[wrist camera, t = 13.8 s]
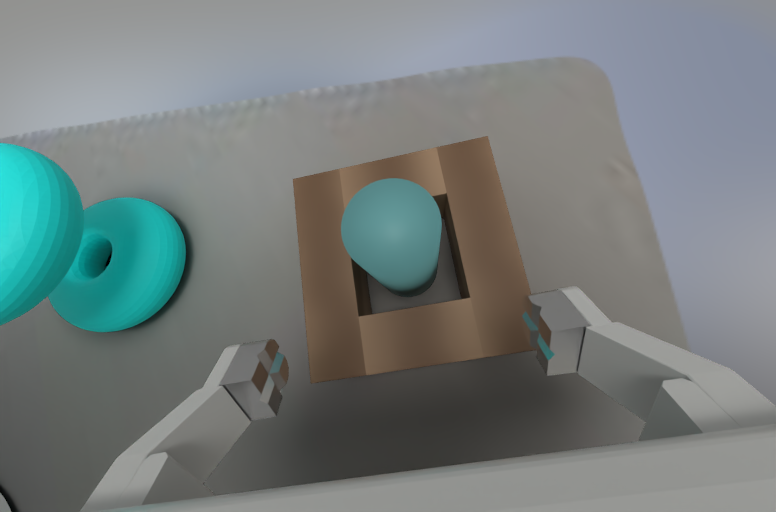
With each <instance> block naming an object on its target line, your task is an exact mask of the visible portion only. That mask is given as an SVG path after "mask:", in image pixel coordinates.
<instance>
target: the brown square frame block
mask: <svg viewBox="0 0 776 512" xmlns="http://www.w3.org/2000/svg"><path fill="white" fill-rule="evenodd" d="M388 178H398V179H405V180H409V181H411V182H414V183H416V184H418V185H420V186H421V187H423V188H424V189H425V190H426V191H427V192H429V193H430V195H431V196H432V197H433V198H434V200H435V202H436V203H437V206H438V208H439V211H440V214H441V218H444V220H445V225H446V230H447V234H448V239H449V243H450V248H451V252H452V257H453V262H454V266H455V271H456V275H457V280H458V285H459V289H460V294H461V298H462V299H460V300H454V301H448V302H442V303H436V304H430V305H424V306H418V307H413V308H407V309H401V310H395V311H389V312H383V313H377V314H372V311H371V304H370V297H369V290H368V282H367V275H366V270H364V269H363V268H362V267H361V266H360V265H358V264H357V263H356V262H355V261H354V260H353V259H352V258H351V257H350V255H349V254H348V252H347V250H346V248H345V246H344V243H343V241H342V235H341V222H342V217H343V214H344V211H345V209H346V207H347V205H348V203H349V202H350V200H351V199H352V198H353V196H354V195H355V194H356V193H357V192H358V191H360V190H361V189H362V188H364V187H365V186H367V185H369V184H370V183H373V182H375V181H379V180H382V179H388ZM293 186H294V197H295V209H296V220H297V232H298V243H299V254H300V266H301V277H302V289H303V300H304V312H305V323H306V334H307V346H308V357H309V369H310V380H311V383H318V382H325V381H331V380H338V379H345V378H351V377H358V376H365V375H371V374H378V373H385V372H392V371H398V370H405V369H412V368H418V367H425V366H432V365H438V364H445V363H452V362H458V361H465V360H472V359H479V358H485V357H492V356H499V355H505V354H512V353H519V352H525V351H532V350H537V349H535V348H533V347H531V346H530V345H529V343H528V341H527V339H526V337H525V334H524V331H523V327H522V315H523V314H524V313H525V312H526V311H525V309H524V307H523V306H522V300H523V297H524V295H529V294H531V292H530V288H529V284H528V281H527V277H526V274H525V270H524V266H523V263H522V259H521V255H520V252H519V248H518V245H517V241H516V237H515V234H514V230H513V226H512V223H511V219H510V216H509V212H508V208H507V205H506V201H505V197H504V194H503V190H502V187H501V183H500V179H499V176H498V172H497V168H496V165H495V161H494V158H493V154H492V150H491V147H490V143H489V140H488V136H486V137H481V138H477V139H472V140H468V141H463V142H459V143H454V144H450V145H445V146H440V147H436V148H431V149H427V150H422V151H418V152H413V153H409V154H404V155H400V156H395V157H391V158H386V159H382V160H377V161H373V162H368V163H364V164H359V165H355V166H350V167H346V168H341V169H337V170H332V171H328V172H323V173H319V174H314V175H310V176H305V177H301V178H296V179H293Z"/></svg>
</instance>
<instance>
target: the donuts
mask: <svg viewBox="0 0 776 512" xmlns="http://www.w3.org/2000/svg"><path fill="white" fill-rule="evenodd" d="M111 252H112V257H111V260H110V263H109V265H108V266H107V268H106V269H105V266H106V262H107V260H108V257H109V255H110V254H111ZM185 259H186V246H185V240H184V236H183V233H182V231H181V229H180V227H179V225H178V224H177V222H176V220H175V219H174V218H173V217H172V216H171V215H170V214H169V213H168V212H167V211H166V210H164V209H163V208H162V207H160V206H158V205H156V204H154V203H152V202H150V201H147V200H143V199H138V198H114V199H110V200H106V201H102V202H99V203H97V204H94V205H92V206H90V207H88V208H87V209H85V210H83V207H82V202H81V198H80V195H79V192H78V190H77V188H76V187H75V185H74V183H73V182H72V180H71V179H70V177H69V176H68V175H67V174H66V173H65V171H64V170H63V169H61V168H60V167H59V166H58V165H57V164H56V163H55V162H53V161H52V160H50V159H49V158H47V157H45V156H44V155H42V154H40V153H38V152H35V151H33V150H31V149H28V148H25V147H21V146H17V145H13V144H6V143H0V325H3V324H5V323H7V322H9V321H11V320H13V319H15V318H17V317H19V316H21V315H23V314H24V313H26V312H28V311H29V310H31V309H32V308H33V307H35V306H36V305H37V304H39V303H40V302H41V301H42V300H43V299H44V298H46V297H47V296H48V298H49V300H50V302H51V304H52V306H53V307H54V309H55V310H56V311H57V313H58V314H59V315H60V316H61V317H63V318H64V319H65V320H66V321H67V322H69V323H71V324H72V325H75V326H77V327H79V328H81V329H85V330H89V331H94V332H114V331H119V330H123V329H127V328H130V327H133V326H135V325H138V324H140V323H141V322H143V321H145V320H147V319H148V318H150V317H151V316H153V315H154V314H155V313H156V312H158V311H159V310H160V309H161V308H162V307H163V306H164V305H165V304H166V303H167V301H168V300H169V299H170V297H171V296H172V295H173V293H174V292H175V290H176V288H177V286H178V284H179V282H180V280H181V277H182V274H183V271H184V266H185Z"/></svg>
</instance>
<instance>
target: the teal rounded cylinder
mask: <svg viewBox="0 0 776 512" xmlns="http://www.w3.org/2000/svg"><path fill="white" fill-rule="evenodd" d="M441 228H442V221H441V214H440V211H439V208H438V206H437V203H436V202H435V200H434V198H433V197H432V196H431V195H430V193H429V192H427V191H426V190H425V189H424V188H423V187H421V186H420V185H418V184H416V183H414V182H411V181H409V180H405V179H398V178H388V179H382V180H379V181H375V182H373V183H370V184H369V185H367V186H365V187H364V188H362V189H361V190H360V191H358V192H357V193H356V194H355V195H354V196H353V198H352V199H351V200H350V202H349V203H348V205H347V207H346V209H345V211H344V214H343V217H342V222H341V235H342V241H343V243H344V246H345V248H346V250H347V252H348V254H349V255H350V257H351V258H352V259H353V260H354V261H355V262H356V263H357V264H358V265H360V266H361V267H362V268H363V269H364V270H366V271H367V272H368V273H369V274H370V275H372V276H373V277H374V278H375V279H376V280H377V281H379V282H380V283H381V284H382V285H383V286H385V287H386V288H387V289H388V290H389V291H391V292H392V293H394V294H396V295H399V296H404V297H411V296H416V295H419V294H421V293H423V292H424V291H426V290H427V289H428V288H429V287H430V286H431V285H432V283H433V281H434V279H435V277H436V273H437V265H438V256H439V247H440V238H441Z"/></svg>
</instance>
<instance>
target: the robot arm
mask: <svg viewBox="0 0 776 512" xmlns="http://www.w3.org/2000/svg"><path fill="white" fill-rule="evenodd" d="M522 306H523V307H524V309H525V311H526V312H525V313H524V314H523V315H522V327H523V331H524V334H525V337H526V339H527V341H528V343H529V345H530V346H531V347H533V348H535V349H537V356H536V357H537V359H538V361H539V363H540V364H541V366H542V368H543V370H544V372H545V373H546V375H547V376H550V375H558V374H566V373H575V372H578V373H577V374H579V375H580V376H582V377H583V378H584V379H586V380H587V381H589V382H590V383H591V384H593V385H594V386H596V387H597V388H598V389H600V390H601V391H603V392H604V393H606V394H607V395H608V396H610V397H611V398H613V399H614V400H615V401H617V402H618V403H620V404H621V405H622V406H624V407H625V408H627V409H628V410H630V411H631V412H632V413H634V414H635V415H637V416H638V417H639V418H641V419H642V420H644V421H645V422H646V423H645V426H644V428H643V431H642V433H641V435H640V438H639V441H638V442H630V443H622V444H614V445H607V446H599V447H591V448H583V449H576V450H568V451H560V452H552V453H544V454H537V455H529V456H521V457H513V458H505V459H497V460H490V461H482V462H474V463H466V464H458V465H450V466H443V467H435V468H427V469H419V470H411V471H404V472H396V473H388V474H380V475H373V476H365V477H357V478H349V479H342V480H334V481H326V482H318V483H311V484H303V485H295V486H287V487H279V488H272V489H264V490H256V491H248V492H241V493H233V494H225V495H217V496H214V494H213V492H212V491H211V490H210V489H208V488H207V487H206V486H205V485H204V484H203V483H204V482H205V481H206V479H207V478H208V477H209V476H210V474H211V473H212V472H213V470H214V469H215V468H216V467H217V465H218V464H219V463H220V462H221V460H222V459H223V458H224V456H225V455H226V454H227V453H228V451H229V450H230V449H231V448H232V446H233V445H234V444H235V442H236V441H237V440H238V439H239V437H240V436H241V435H242V434H243V432H244V431H245V430H246V428H247V427H248V426H249V425H250V423H251V421H253V420H259V419H264V418H270V417H275V416H277V413H278V410H279V406H280V403H281V400H282V395H281V393H280V390H281V389H282V388H283V387H284V386H285V385H286V383H287V380H288V373H289V367H288V363H287V360H286V358H285V356H284V355H282V354H280V353H278V352H277V351H278V348H279V346H278V344H277V343H276V341H275V340H272V339H269V340H263V341H256V342H249V343H243V344H238V345H231V346H228V347H227V348H225V349H224V351H223V353H222V355H221V356H220V358H219V360H218V362H217V363H216V365H215V367H214V369H213V370H212V372H211V374H210V376H209V377H208V379H207V381H206V383H205V384H204V386H203V388H202V389H199V390H196V391H195V392H194V393H193V394H192V395H190V396H189V397H188V398H187V399H186V400H185V401H183V402H182V403H181V404H180V405H179V406H177V407H176V408H175V409H174V410H173V411H171V412H170V413H169V414H168V415H167V416H166V417H164V418H163V419H162V420H161V421H160V422H158V423H157V424H156V425H155V426H154V427H153V428H151V429H150V430H149V431H148V432H147V433H145V434H144V435H143V436H142V437H141V438H140V439H138V440H137V441H136V442H135V443H134V444H132V445H131V446H130V447H129V448H128V449H127V450H125V451H124V452H123V453H122V454H121V455H119V456H118V457H117V458H116V460H115V461H114V463H113V464H112V465H111V467H110V468H109V470H108V471H107V473H106V474H105V476H104V477H103V478H102V480H101V481H100V483H99V484H98V486H97V487H96V489H95V490H94V491H93V493H92V494H91V496H90V497H89V499H88V500H87V502H86V503H85V505H84V506H83V507H82V509H81V510H80V512H776V406H775V405H774V404H772V403H771V402H770V401H769V400H767V398H765V397H764V396H763V395H762V394H761V393H759V392H758V391H757V390H756V389H754V388H753V387H752V386H751V385H750V384H749V383H747V382H746V381H745V380H743V378H741V377H740V376H739V375H738V374H737V373H735V372H734V371H733V370H732V369H729V368H727V367H724V366H722V365H720V364H717V363H715V362H712V361H710V360H708V359H705V358H703V357H700V356H698V355H696V354H693V353H691V352H688V351H686V350H684V349H681V348H679V347H677V346H674V345H672V344H669V343H667V342H665V341H662V340H660V339H657V338H655V337H653V336H650V335H648V334H645V333H643V332H641V331H638V330H636V329H633V328H631V327H629V326H626V325H624V324H622V323H619V322H614V323H612V322H611V321H610V320H609V319H608V318H607V317H606V316H605V315H604V314H603V313H602V312H601V311H600V309H599V308H598V307H597V306H596V305H595V304H594V303H593V302H592V301H591V300H590V299H589V298H588V297H587V296H586V295H585V294H584V293H583V292H582V291H581V290H580V289H579V288H578V287H576V286H571V287H566V288H561V289H557V290H551V291H545V292H540V293H534V294H529V295H524V297H523V300H522ZM0 512H11V510H10V507H9V506H8V504H7V502H6V500H5V499H4V497H3V496H2V494H1V493H0Z"/></svg>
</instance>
